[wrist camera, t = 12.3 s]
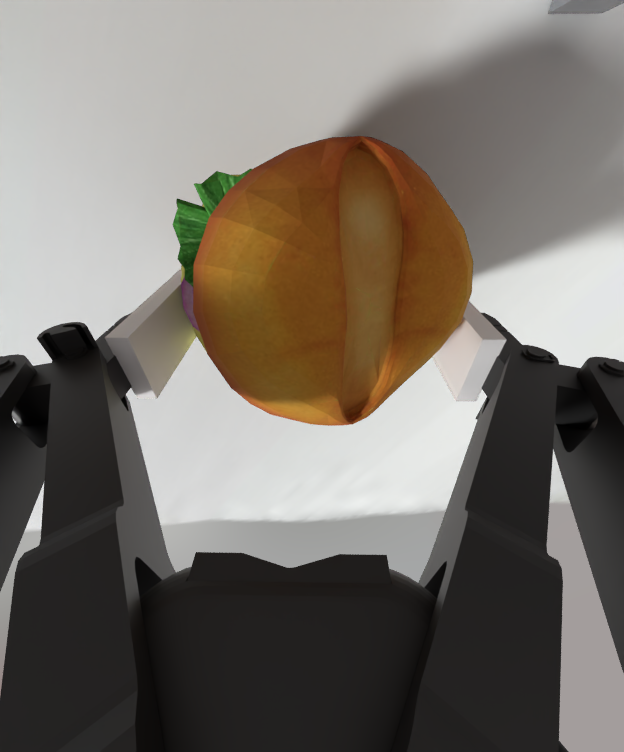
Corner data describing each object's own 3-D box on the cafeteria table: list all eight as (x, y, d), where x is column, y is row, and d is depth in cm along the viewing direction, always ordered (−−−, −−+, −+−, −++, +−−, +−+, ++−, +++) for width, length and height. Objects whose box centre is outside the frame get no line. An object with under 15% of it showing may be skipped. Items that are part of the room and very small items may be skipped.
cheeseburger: (140, 260, 14) (-26, 273, 5) (316, 127, 14) (470, -110, 5) (265, 400, 19) (293, 535, 10) (400, 303, 18) (557, 350, 9)
